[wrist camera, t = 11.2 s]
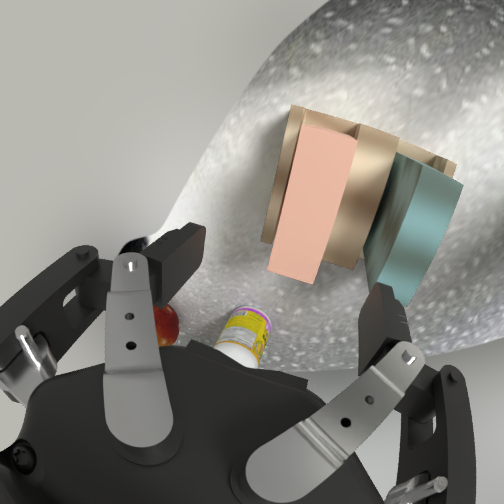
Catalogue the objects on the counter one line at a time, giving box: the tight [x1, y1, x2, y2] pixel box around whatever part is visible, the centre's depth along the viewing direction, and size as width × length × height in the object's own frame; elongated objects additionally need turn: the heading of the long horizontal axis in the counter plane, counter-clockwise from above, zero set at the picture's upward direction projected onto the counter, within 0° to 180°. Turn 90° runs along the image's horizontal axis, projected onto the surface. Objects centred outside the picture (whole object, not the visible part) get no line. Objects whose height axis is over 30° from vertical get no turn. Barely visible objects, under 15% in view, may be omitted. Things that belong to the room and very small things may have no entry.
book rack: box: [261, 104, 463, 307], centre depth 25 cm, size 15×18×12 cm
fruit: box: [153, 304, 179, 347], centre depth 45 cm, size 10×9×8 cm
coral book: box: [267, 125, 358, 284], centre depth 25 cm, size 12×4×11 cm, turn 169°
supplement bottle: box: [213, 306, 271, 369], centre depth 38 cm, size 7×7×13 cm
